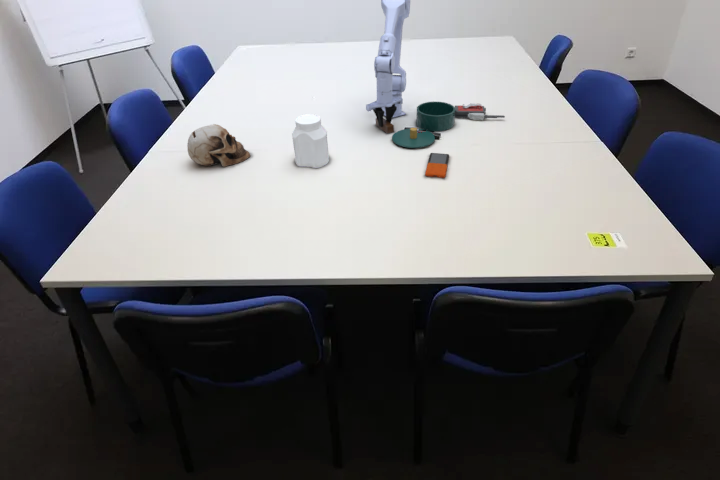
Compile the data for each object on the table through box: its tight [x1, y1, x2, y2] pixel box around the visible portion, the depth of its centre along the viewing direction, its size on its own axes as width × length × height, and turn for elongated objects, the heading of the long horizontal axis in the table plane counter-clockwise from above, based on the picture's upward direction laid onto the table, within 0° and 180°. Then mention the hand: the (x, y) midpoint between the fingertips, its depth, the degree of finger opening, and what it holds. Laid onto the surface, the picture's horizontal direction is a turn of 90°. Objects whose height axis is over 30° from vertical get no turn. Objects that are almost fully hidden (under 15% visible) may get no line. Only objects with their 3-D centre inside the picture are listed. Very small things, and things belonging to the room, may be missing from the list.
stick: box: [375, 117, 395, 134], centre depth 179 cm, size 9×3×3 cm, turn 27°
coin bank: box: [186, 123, 251, 168], centre depth 160 cm, size 16×17×13 cm
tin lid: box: [391, 127, 436, 149], centre depth 170 cm, size 15×15×4 cm
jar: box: [291, 113, 330, 169], centre depth 156 cm, size 12×10×15 cm
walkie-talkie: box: [454, 103, 506, 121], centre depth 185 cm, size 9×4×20 cm
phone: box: [424, 152, 450, 179], centre depth 154 cm, size 6×1×15 cm
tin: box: [415, 101, 456, 132], centre depth 180 cm, size 14×14×6 cm
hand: (384, 125), depth 179 cm, fingers closed on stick, 3 cm apart
